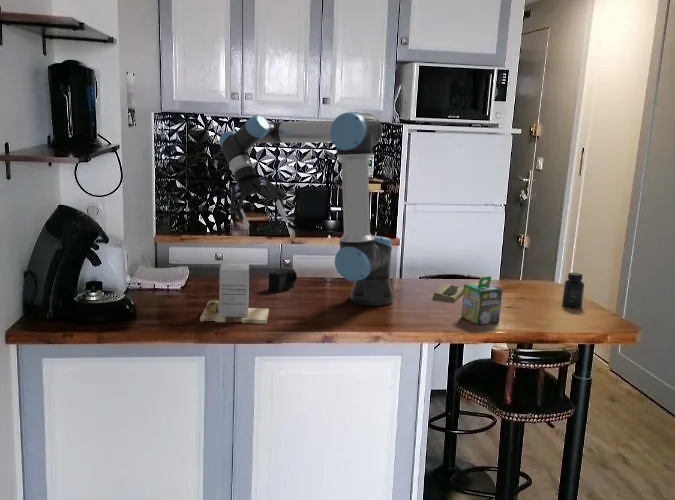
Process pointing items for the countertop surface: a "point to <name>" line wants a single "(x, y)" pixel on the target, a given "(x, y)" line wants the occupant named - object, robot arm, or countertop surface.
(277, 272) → the digital camera
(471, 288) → the chalk box
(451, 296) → the tan flat block
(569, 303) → the supplement bottle
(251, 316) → the plywood board
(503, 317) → the countertop surface
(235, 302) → the supplement box
